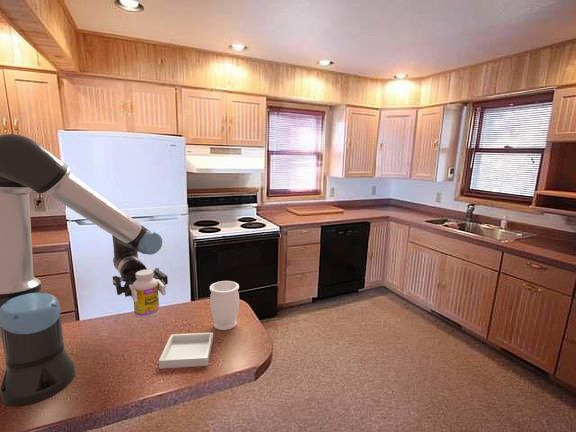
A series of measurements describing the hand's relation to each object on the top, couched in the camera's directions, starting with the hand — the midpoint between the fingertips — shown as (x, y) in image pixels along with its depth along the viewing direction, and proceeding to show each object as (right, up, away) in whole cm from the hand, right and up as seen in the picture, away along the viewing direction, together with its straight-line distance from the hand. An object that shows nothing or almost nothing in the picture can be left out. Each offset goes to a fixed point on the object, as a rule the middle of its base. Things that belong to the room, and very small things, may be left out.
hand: (150, 293), depth 84 cm
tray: (+7, -21, +10) cm, 24 cm away
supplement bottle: (-3, -7, +5) cm, 10 cm away
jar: (+15, -18, +27) cm, 36 cm away
